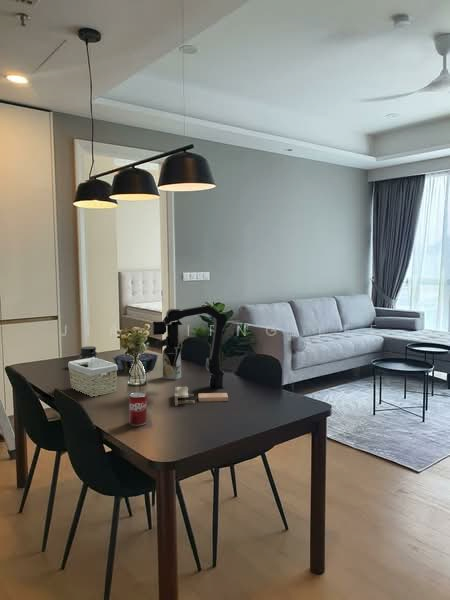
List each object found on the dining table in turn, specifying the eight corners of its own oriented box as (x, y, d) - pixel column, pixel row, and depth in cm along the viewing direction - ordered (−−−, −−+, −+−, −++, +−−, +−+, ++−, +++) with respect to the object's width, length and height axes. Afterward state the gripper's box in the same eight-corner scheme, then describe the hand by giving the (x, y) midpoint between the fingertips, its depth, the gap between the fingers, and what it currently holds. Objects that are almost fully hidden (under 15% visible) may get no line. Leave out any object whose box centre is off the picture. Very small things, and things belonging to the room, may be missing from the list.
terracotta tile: (226, 397, 227) (226, 392, 227) (228, 402, 220) (228, 397, 220) (198, 398, 226) (198, 393, 226) (198, 402, 219) (198, 397, 219)
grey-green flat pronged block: (193, 395, 229) (193, 386, 229) (195, 404, 214) (195, 395, 214) (174, 395, 228) (174, 387, 228) (175, 405, 213) (175, 395, 213)
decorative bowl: (136, 380, 265) (137, 363, 264) (103, 370, 280) (103, 354, 279) (165, 371, 287) (166, 355, 286) (132, 362, 301) (133, 347, 300)
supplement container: (84, 364, 297) (83, 345, 296) (99, 364, 296) (99, 346, 294) (76, 368, 287) (76, 349, 286) (92, 368, 285) (92, 349, 284)
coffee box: (181, 377, 264) (181, 349, 263) (176, 380, 258) (176, 351, 257) (167, 375, 268) (167, 348, 266) (162, 378, 262) (162, 350, 260)
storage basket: (119, 392, 235) (118, 363, 233) (90, 399, 223) (89, 369, 222) (95, 383, 251) (94, 356, 250) (67, 389, 240) (66, 361, 239)
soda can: (130, 420, 193) (129, 392, 192) (147, 419, 194) (147, 391, 193) (128, 426, 186) (127, 397, 185) (146, 426, 187) (146, 397, 186)
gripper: (161, 330, 246) (162, 359, 247) (153, 336, 227) (154, 368, 229) (182, 330, 245) (182, 359, 246) (175, 336, 226) (176, 368, 228)
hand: (173, 363), depth 237 cm, fingers open, 9 cm apart
